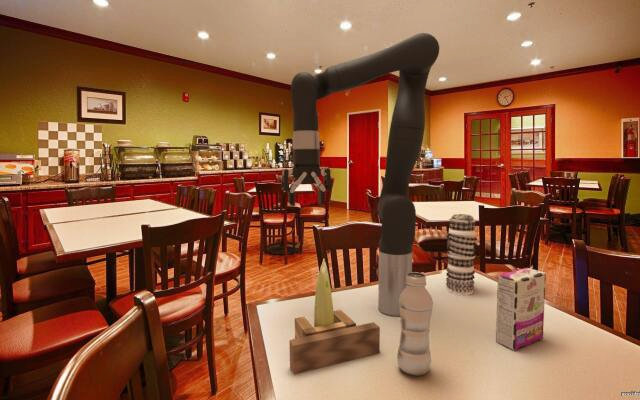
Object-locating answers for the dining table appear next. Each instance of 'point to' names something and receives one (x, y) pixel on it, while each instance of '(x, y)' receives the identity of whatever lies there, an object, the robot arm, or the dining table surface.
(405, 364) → the plastic bottle
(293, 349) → the wooden plank
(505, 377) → the dining table surface
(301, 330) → the block
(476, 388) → the dining table surface
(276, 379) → the dining table surface
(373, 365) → the dining table surface
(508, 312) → the candy bar box
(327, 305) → the tube
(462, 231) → the decorative candle
